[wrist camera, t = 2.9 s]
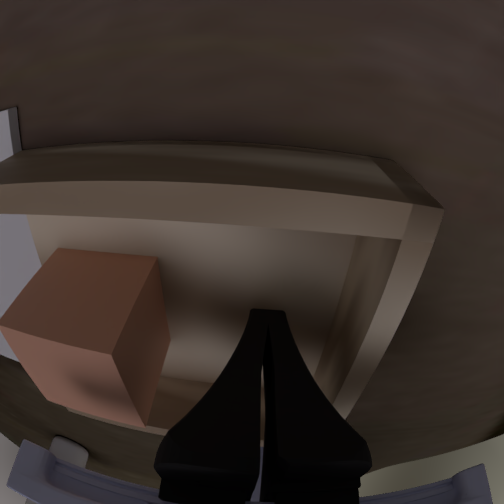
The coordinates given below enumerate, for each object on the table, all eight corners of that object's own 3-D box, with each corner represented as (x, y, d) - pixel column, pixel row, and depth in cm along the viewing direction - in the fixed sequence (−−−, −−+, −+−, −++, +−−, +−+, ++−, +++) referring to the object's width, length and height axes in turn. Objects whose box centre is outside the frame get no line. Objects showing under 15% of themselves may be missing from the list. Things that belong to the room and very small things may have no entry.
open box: (321, 389, 18) (325, 447, 14) (89, 362, 18) (68, 410, 15) (393, 160, 10) (445, 209, 7) (21, 150, 10) (-42, 188, 7)
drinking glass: (41, 425, 29) (10, 517, 16) (83, 441, 29) (55, 541, 16) (62, 445, 33) (37, 527, 20) (101, 459, 33) (79, 547, 20)
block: (170, 340, 15) (145, 428, 11) (84, 325, 15) (47, 400, 11) (157, 256, 12) (111, 355, 8) (57, 247, 12) (-4, 324, 8)
